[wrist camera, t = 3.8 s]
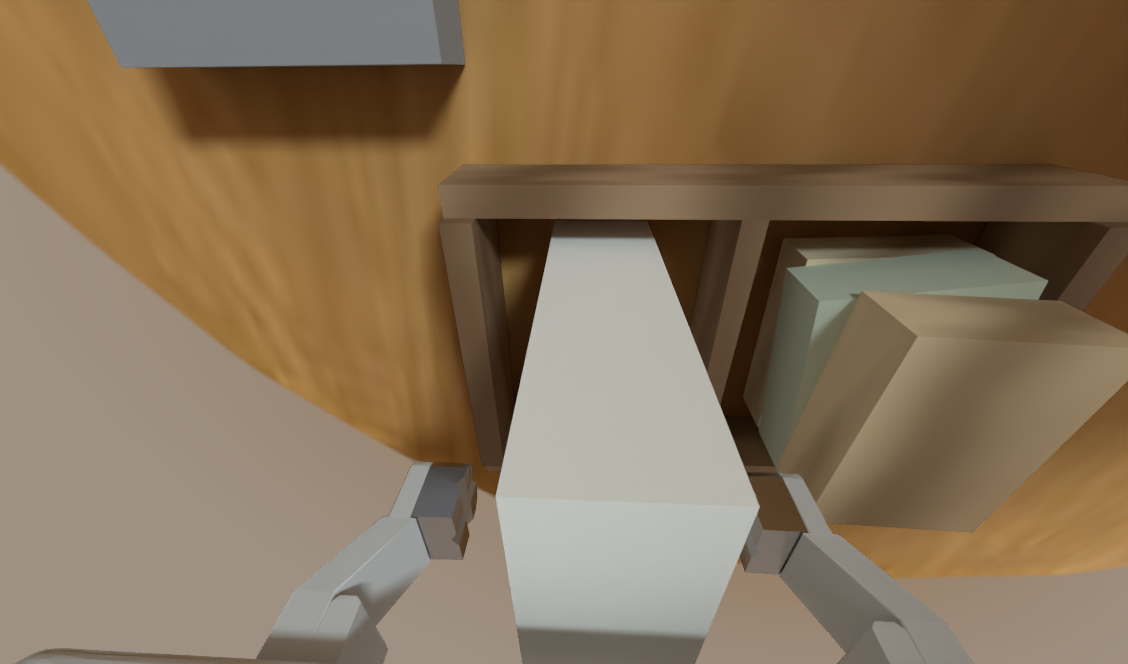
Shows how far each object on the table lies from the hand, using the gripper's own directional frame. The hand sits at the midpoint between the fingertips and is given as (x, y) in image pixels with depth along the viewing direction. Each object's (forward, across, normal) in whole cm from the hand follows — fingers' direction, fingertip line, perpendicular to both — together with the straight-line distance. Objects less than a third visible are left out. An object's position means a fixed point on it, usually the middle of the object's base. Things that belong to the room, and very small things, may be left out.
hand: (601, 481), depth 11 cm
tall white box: (+8, 0, 0) cm, 8 cm away
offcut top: (+4, -10, 0) cm, 11 cm away
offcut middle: (+6, -10, 0) cm, 12 cm away
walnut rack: (+8, -5, 0) cm, 10 cm away
